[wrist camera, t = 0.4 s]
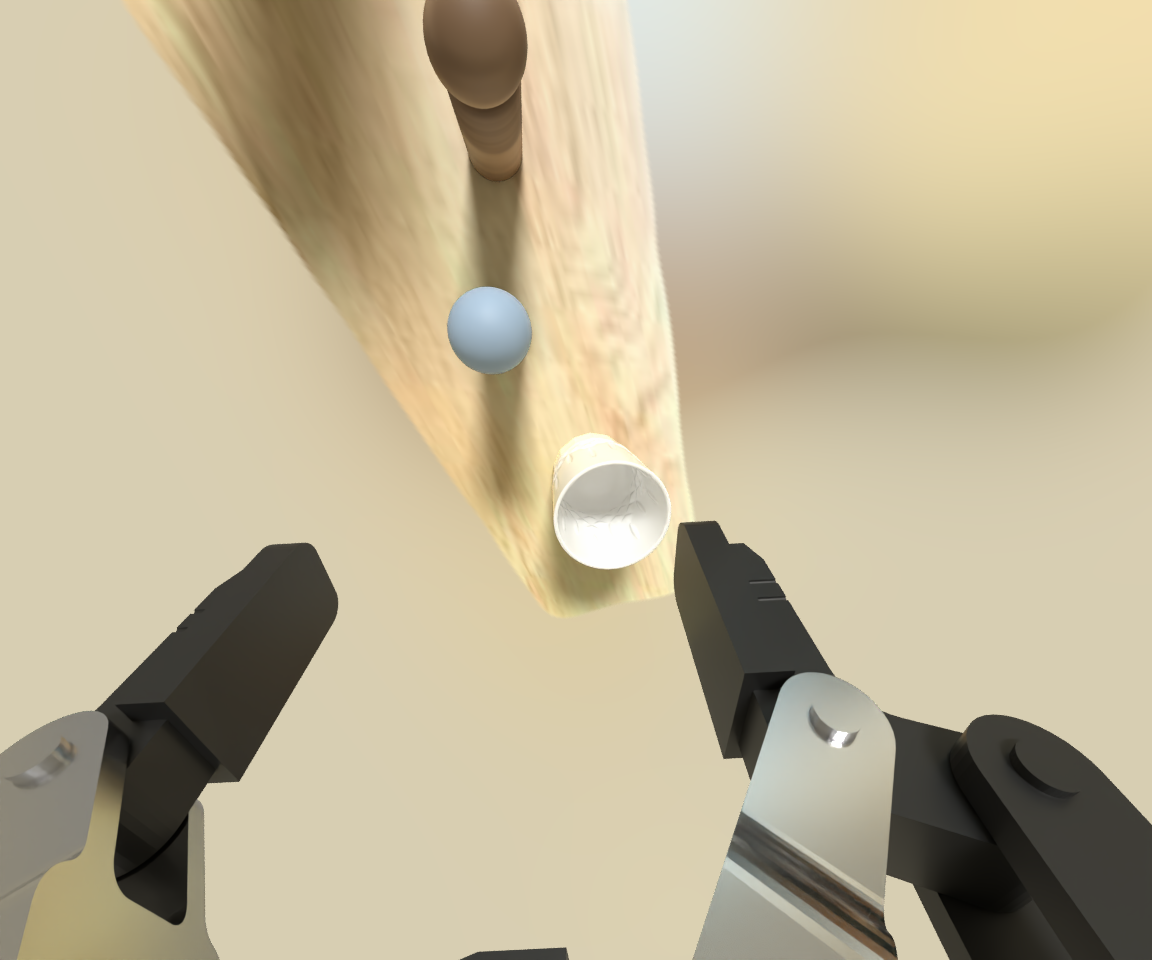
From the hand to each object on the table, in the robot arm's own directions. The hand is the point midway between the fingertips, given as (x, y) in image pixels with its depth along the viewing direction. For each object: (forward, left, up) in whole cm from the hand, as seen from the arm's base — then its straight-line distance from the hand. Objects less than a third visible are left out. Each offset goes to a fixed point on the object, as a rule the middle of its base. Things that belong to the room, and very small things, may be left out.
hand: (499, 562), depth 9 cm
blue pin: (-5, 0, -26) cm, 27 cm away
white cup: (+8, +4, -27) cm, 28 cm away
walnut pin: (-16, +3, -26) cm, 31 cm away
